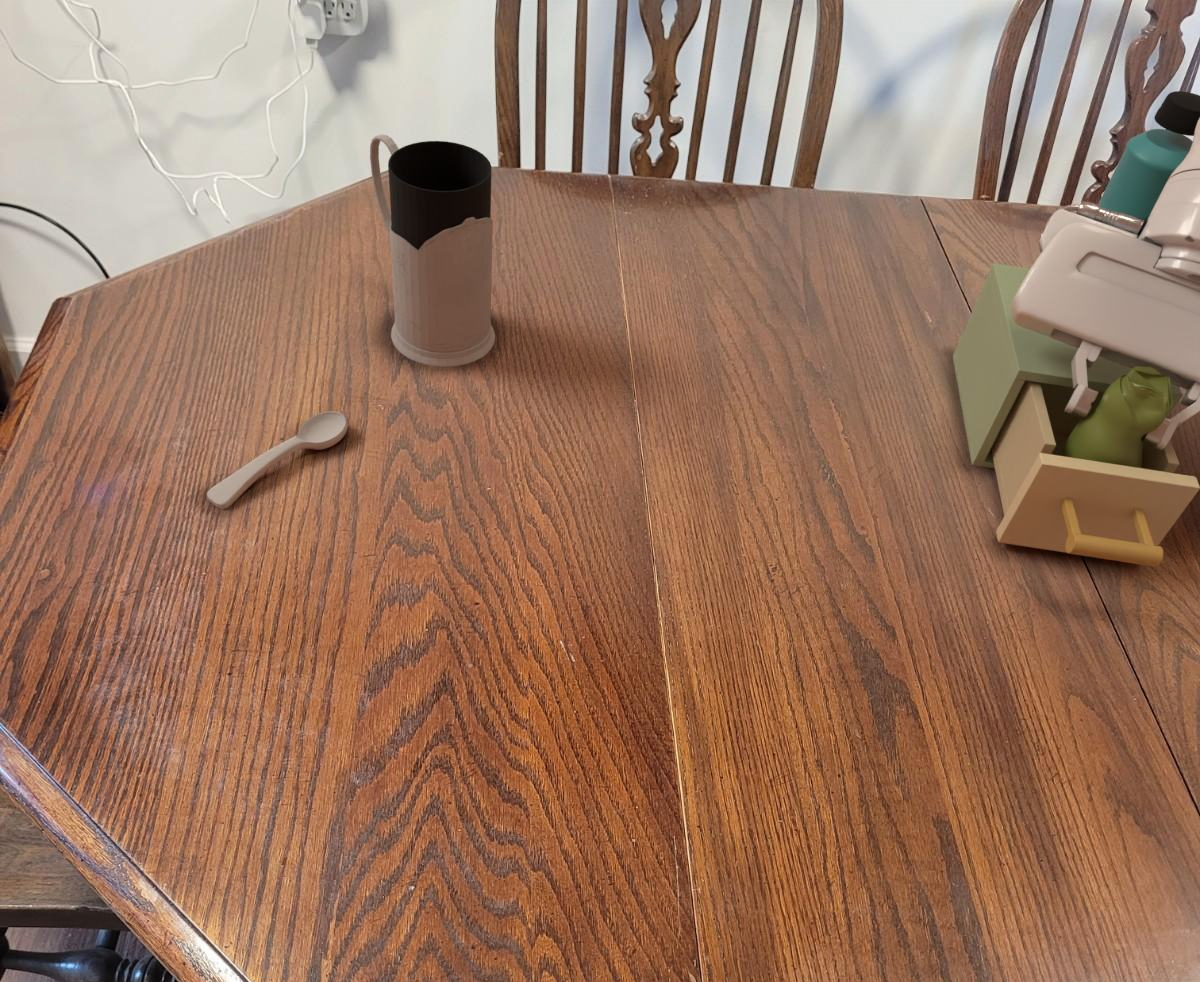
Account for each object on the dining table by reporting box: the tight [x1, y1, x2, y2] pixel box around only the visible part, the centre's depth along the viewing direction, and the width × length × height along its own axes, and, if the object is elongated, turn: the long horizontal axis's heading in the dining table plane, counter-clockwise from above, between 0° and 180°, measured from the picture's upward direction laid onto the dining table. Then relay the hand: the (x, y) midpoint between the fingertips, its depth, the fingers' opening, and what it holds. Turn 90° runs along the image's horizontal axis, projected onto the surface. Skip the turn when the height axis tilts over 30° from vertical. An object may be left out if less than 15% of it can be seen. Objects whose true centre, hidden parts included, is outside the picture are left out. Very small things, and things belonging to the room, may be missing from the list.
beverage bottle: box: [1097, 90, 1200, 238], centre depth 93 cm, size 6×7×20 cm
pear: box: [1062, 366, 1173, 468], centre depth 73 cm, size 6×5×10 cm
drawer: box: [991, 380, 1200, 568], centre depth 77 cm, size 18×11×8 cm, turn 173°
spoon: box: [206, 410, 349, 510], centre depth 75 cm, size 3×12×2 cm, turn 141°
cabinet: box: [952, 262, 1183, 470], centre depth 85 cm, size 15×12×10 cm
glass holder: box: [369, 134, 496, 368], centre depth 83 cm, size 9×14×15 cm, turn 39°
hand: (1113, 429), depth 73 cm, fingers closed on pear, 4 cm apart
